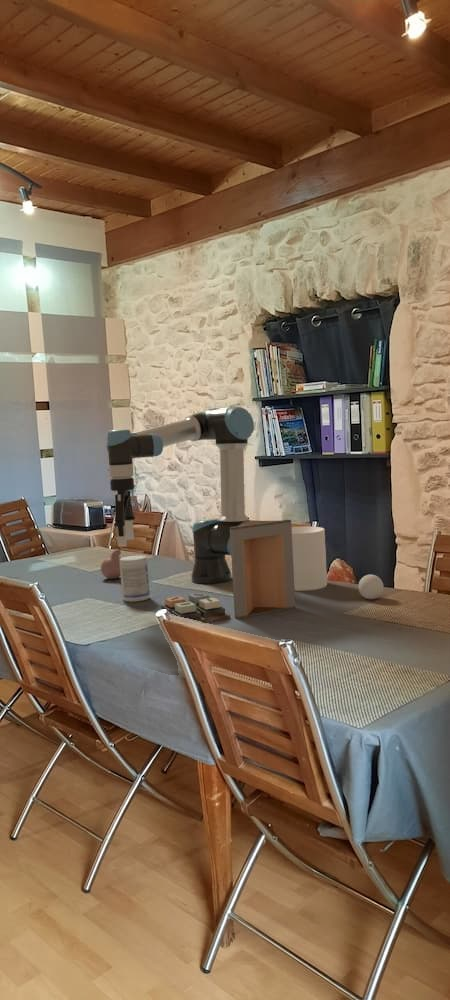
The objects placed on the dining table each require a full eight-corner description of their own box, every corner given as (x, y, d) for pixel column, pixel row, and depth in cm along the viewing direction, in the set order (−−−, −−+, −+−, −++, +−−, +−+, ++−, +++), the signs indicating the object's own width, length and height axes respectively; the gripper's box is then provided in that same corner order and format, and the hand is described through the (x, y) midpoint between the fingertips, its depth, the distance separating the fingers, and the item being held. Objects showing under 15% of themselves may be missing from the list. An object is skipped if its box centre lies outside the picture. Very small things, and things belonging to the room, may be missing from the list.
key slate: (203, 598, 245) (202, 591, 244) (209, 601, 240) (208, 594, 240) (188, 600, 243) (188, 594, 242) (194, 603, 238) (194, 596, 238)
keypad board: (206, 606, 248) (206, 597, 248) (230, 618, 231) (229, 608, 230) (157, 614, 241) (156, 604, 241) (178, 627, 224) (177, 617, 224)
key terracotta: (180, 602, 241) (179, 595, 241) (185, 605, 237) (185, 598, 237) (165, 604, 239) (164, 597, 239) (170, 607, 235) (170, 600, 235)
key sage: (190, 607, 233) (189, 600, 233) (196, 611, 229) (195, 604, 228) (175, 610, 231) (174, 603, 231) (180, 613, 227) (180, 606, 226)
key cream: (214, 603, 236) (213, 597, 236) (220, 607, 232) (220, 600, 232) (199, 606, 234) (198, 599, 234) (205, 609, 230) (205, 602, 230)
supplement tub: (154, 599, 262) (151, 557, 261) (130, 604, 257) (126, 561, 256) (141, 594, 270) (139, 554, 269) (117, 599, 265) (114, 558, 264)
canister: (276, 589, 266) (273, 533, 264) (289, 580, 280) (287, 526, 278) (320, 591, 260) (317, 533, 257) (332, 581, 274) (329, 526, 272)
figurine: (133, 577, 303) (130, 547, 301) (108, 582, 296) (106, 551, 295) (121, 574, 310) (119, 545, 308) (97, 579, 303) (95, 549, 302)
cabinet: (237, 619, 229) (232, 527, 226) (222, 612, 238) (217, 524, 235) (295, 607, 239) (291, 520, 236) (279, 602, 247) (275, 517, 244)
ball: (388, 597, 245) (387, 573, 244) (375, 603, 239) (374, 578, 238) (367, 595, 250) (366, 571, 249) (353, 600, 244) (353, 575, 243)
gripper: (117, 475, 256) (121, 537, 258) (102, 481, 231) (107, 549, 234) (139, 474, 256) (143, 536, 258) (126, 480, 231) (131, 548, 233)
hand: (126, 543), depth 246 cm, fingers open, 13 cm apart
